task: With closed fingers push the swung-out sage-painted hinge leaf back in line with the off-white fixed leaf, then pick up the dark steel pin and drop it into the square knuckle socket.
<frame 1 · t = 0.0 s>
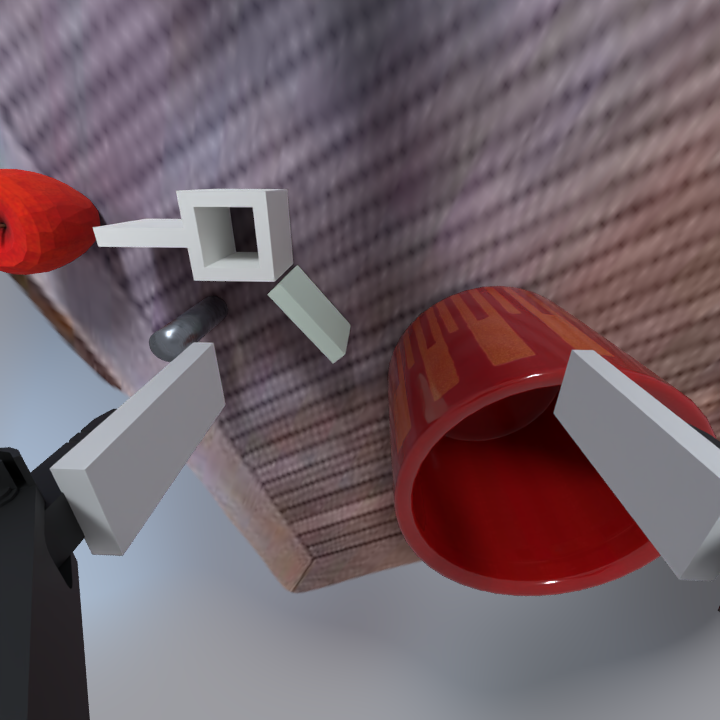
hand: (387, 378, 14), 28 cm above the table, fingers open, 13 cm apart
fixed hinge: (255, 227, 38), on the table
loose leaf: (313, 312, 38), point 4 cm above the table, hinge at -50.0°
pin: (214, 308, 42), on the table
apple: (80, 216, 39), on the table
planter: (479, 373, 45), on the table
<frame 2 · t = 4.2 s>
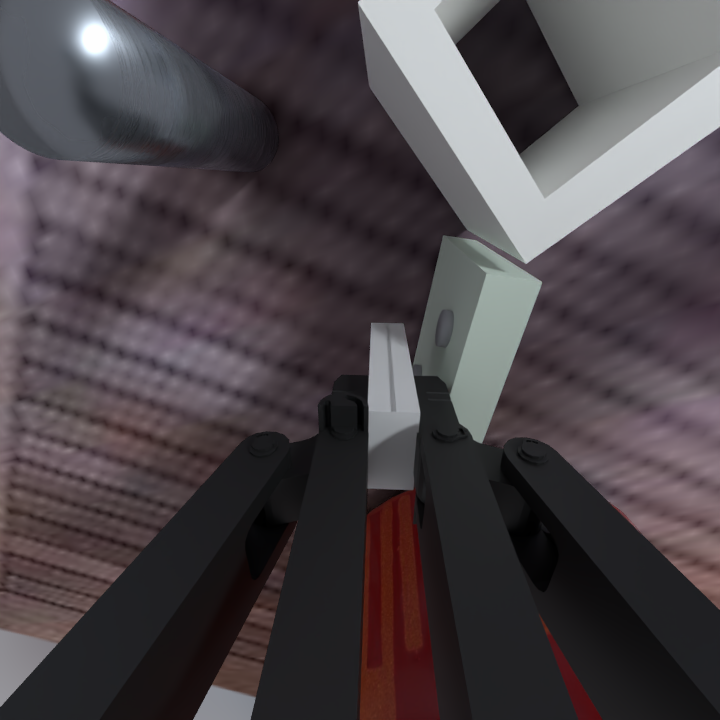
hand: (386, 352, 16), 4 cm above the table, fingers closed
fixed hinge: (493, 98, 15), on the table
loose leaf: (446, 356, 16), point 4 cm above the table, hinge at -48.3°, touching gripper
pin: (245, 134, 16), on the table
planter: (477, 568, 29), on the table
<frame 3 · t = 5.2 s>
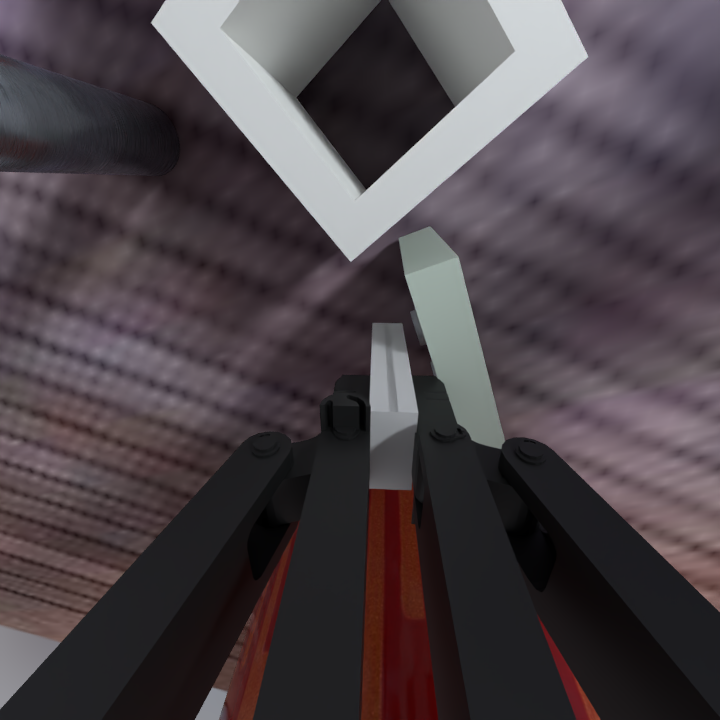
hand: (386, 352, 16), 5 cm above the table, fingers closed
fixed hinge: (376, 104, 16), on the table
loose leaf: (446, 345, 16), point 4 cm above the table, hinge at -19.8°, touching gripper
pin: (148, 140, 17), on the table
planter: (417, 562, 29), on the table
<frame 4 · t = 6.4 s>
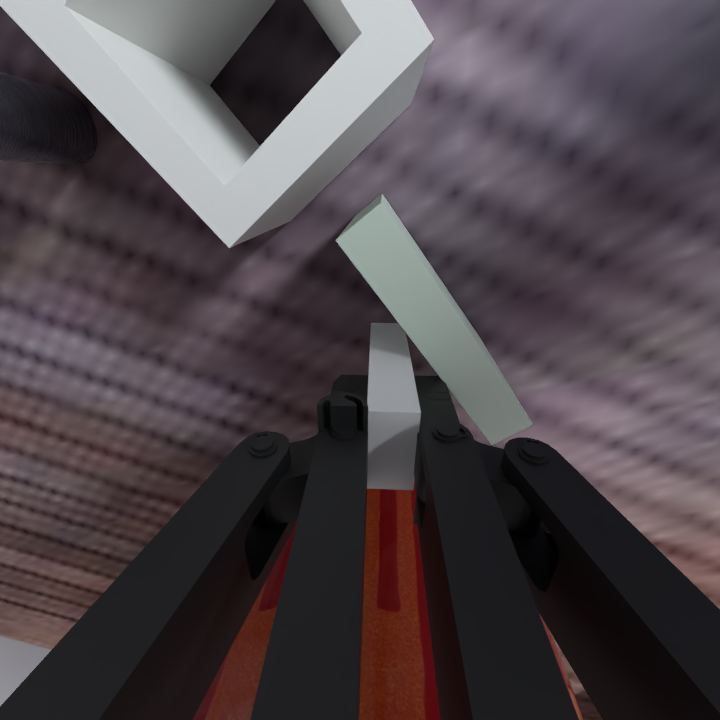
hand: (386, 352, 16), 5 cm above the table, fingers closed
fixed hinge: (290, 92, 16), on the table
loose leaf: (427, 305, 15), point 4 cm above the table, hinge at -2.3°, touching gripper
pin: (63, 127, 17), on the table
planter: (368, 556, 29), on the table
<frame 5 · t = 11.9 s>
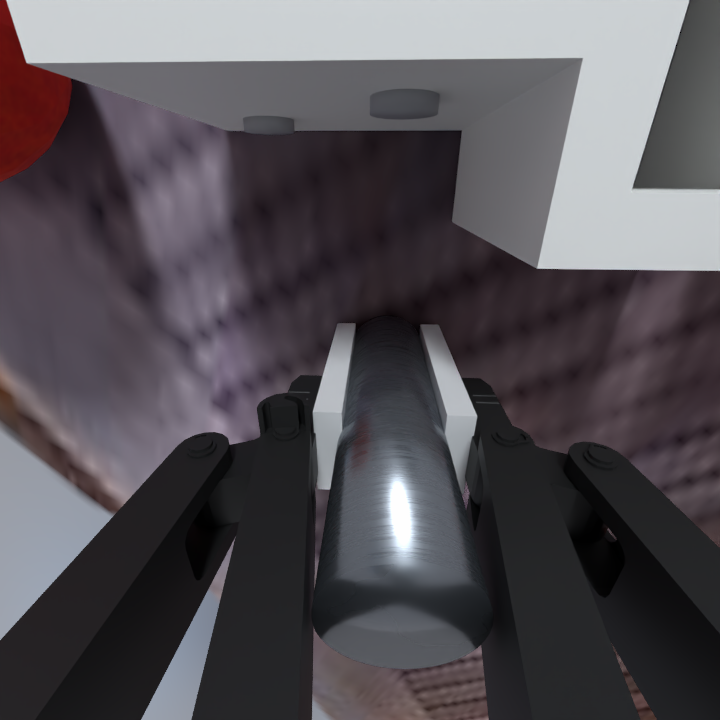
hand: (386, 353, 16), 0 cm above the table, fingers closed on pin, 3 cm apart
fixed hinge: (580, 101, 12), on the table
pin: (386, 347, 16), on the table, touching gripper
apple: (8, 69, 12), on the table
when the fingers open (10 cm above the table, at t = 15.2 s): pin drops 6 cm, resting in fixed hinge.
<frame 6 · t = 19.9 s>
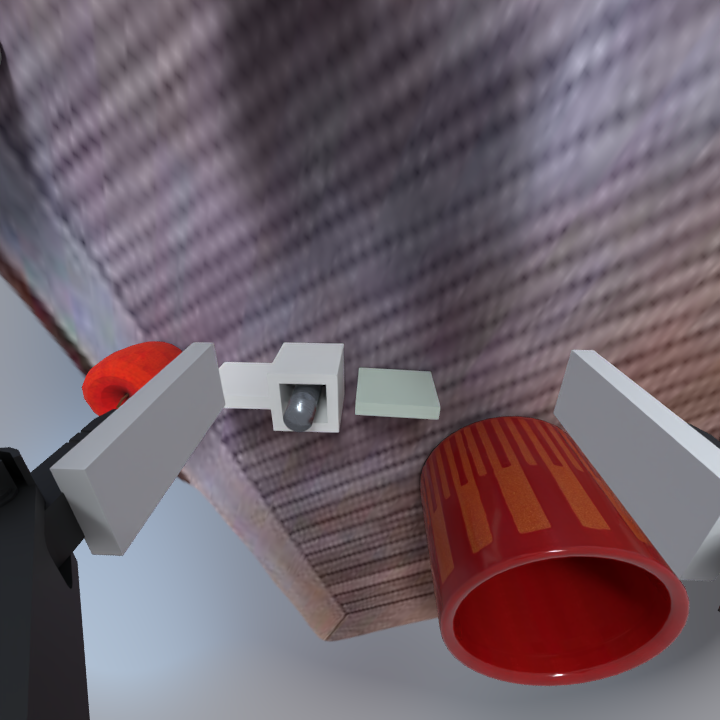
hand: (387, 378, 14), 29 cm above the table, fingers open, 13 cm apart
fixed hinge: (315, 369, 46), on the table
loose leaf: (395, 392, 42), point 4 cm above the table, hinge at -2.2°
pin: (314, 368, 46), resting in fixed hinge
apple: (169, 358, 47), on the table
planter: (497, 474, 53), on the table
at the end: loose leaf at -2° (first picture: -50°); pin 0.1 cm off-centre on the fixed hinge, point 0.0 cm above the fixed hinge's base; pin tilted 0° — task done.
